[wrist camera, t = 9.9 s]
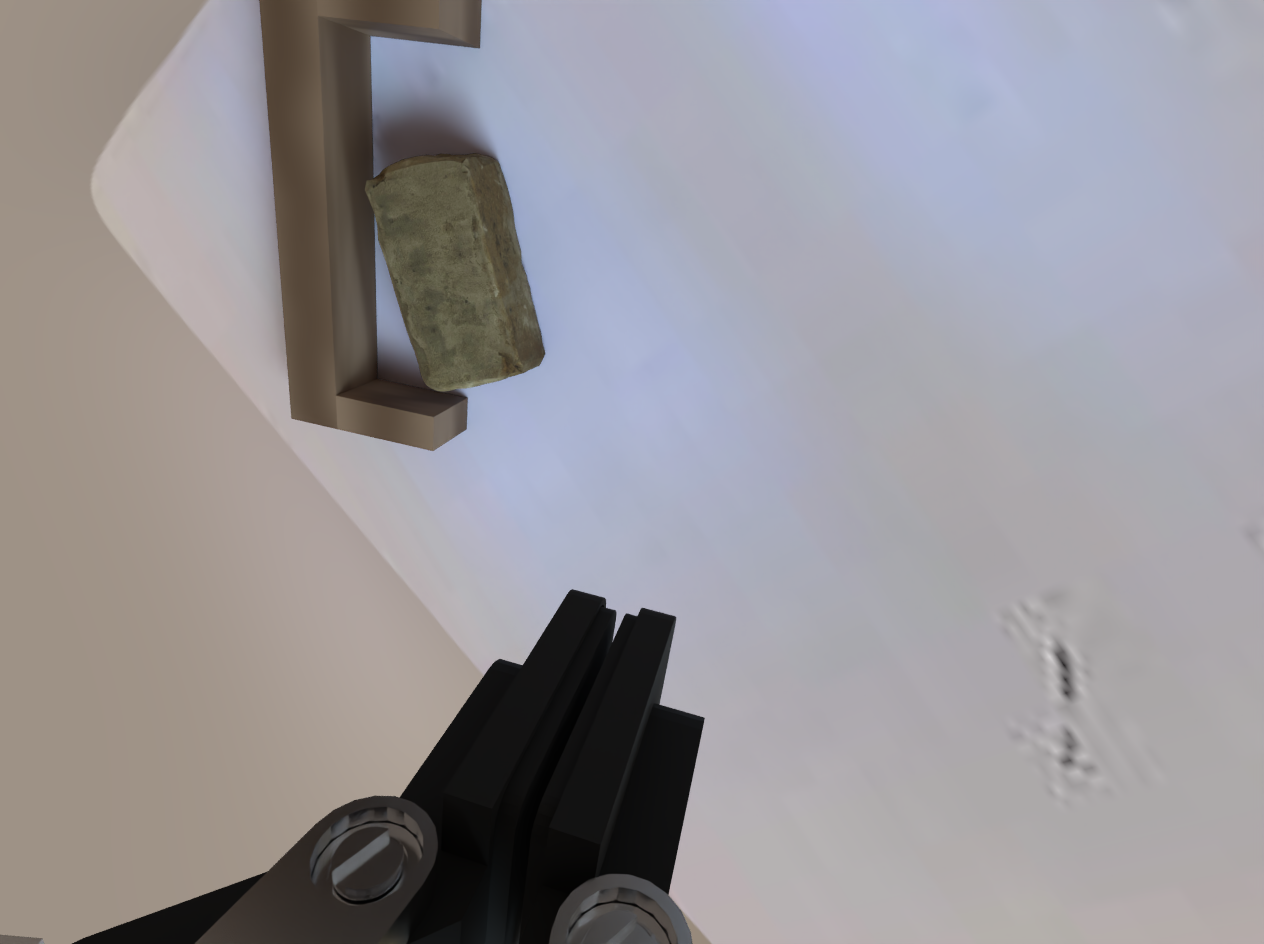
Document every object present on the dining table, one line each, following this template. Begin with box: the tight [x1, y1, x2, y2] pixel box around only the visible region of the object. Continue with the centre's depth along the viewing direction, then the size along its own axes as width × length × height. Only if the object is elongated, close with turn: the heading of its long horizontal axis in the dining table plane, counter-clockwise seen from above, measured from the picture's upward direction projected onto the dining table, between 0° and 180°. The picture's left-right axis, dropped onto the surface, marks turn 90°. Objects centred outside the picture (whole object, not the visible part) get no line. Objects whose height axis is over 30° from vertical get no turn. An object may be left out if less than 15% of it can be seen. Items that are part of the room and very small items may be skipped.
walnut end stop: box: [259, 0, 481, 451], centre depth 35 cm, size 9×22×4 cm, turn 172°
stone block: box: [365, 153, 545, 391], centre depth 35 cm, size 6×12×5 cm, turn 13°
